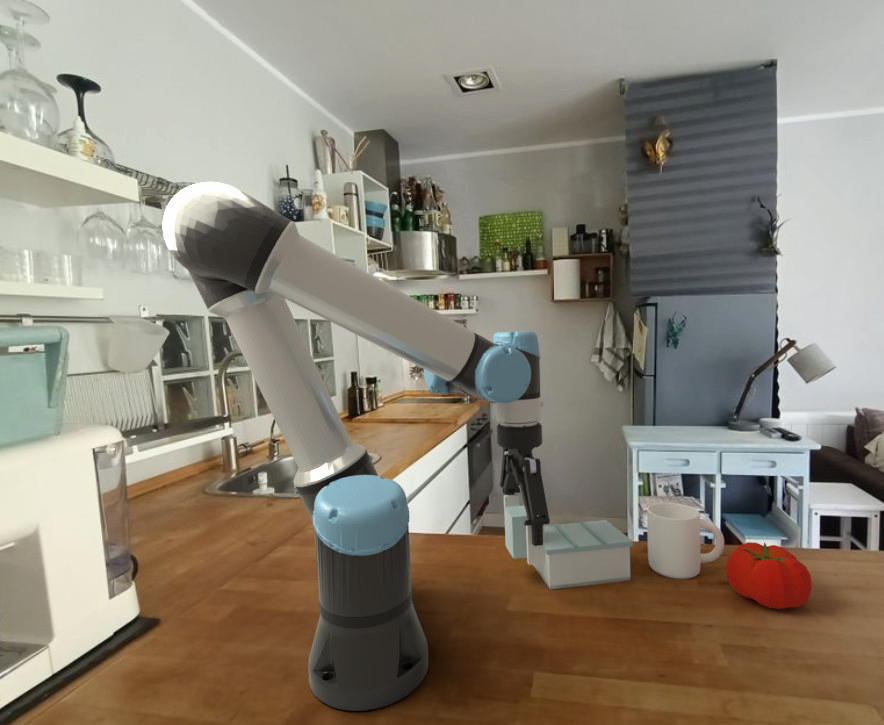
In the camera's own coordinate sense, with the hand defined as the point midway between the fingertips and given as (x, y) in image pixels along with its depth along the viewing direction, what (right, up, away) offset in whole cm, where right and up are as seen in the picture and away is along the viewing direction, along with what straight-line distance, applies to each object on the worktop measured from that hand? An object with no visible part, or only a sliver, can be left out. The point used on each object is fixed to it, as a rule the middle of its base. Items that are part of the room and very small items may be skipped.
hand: (523, 545), depth 84 cm
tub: (+10, -5, +2) cm, 11 cm away
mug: (+28, -5, +1) cm, 29 cm away
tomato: (+36, -5, -9) cm, 37 cm away
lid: (+7, -1, +1) cm, 7 cm away
